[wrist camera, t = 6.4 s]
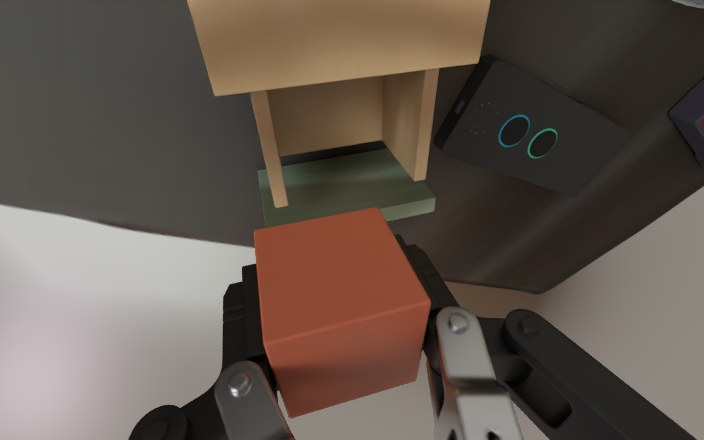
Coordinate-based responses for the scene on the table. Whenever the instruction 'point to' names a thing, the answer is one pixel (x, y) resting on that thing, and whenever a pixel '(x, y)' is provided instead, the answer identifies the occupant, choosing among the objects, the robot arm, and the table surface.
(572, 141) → the smart home device
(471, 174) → the table surface
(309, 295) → the block
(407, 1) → the cabinet
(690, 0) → the ceramic mug
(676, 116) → the calculator
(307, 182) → the drawer
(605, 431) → the robot arm
